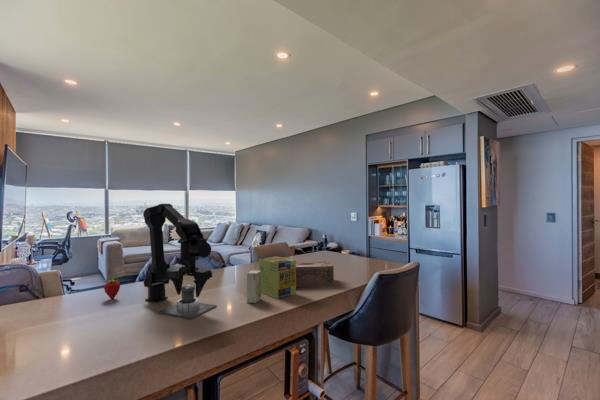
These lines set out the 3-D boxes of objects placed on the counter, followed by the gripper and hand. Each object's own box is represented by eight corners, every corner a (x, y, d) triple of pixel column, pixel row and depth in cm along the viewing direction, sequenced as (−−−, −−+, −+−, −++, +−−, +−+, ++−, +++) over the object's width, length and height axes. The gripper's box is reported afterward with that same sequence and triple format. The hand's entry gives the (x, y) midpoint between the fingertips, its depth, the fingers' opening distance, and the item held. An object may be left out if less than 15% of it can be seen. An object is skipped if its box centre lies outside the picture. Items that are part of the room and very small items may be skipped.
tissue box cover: (282, 287, 145) (282, 267, 145) (281, 280, 159) (281, 261, 160) (333, 286, 148) (333, 266, 148) (328, 279, 162) (328, 260, 162)
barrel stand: (157, 313, 110) (157, 303, 110) (185, 301, 123) (185, 293, 123) (191, 319, 104) (191, 308, 104) (216, 306, 117) (216, 297, 117)
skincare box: (256, 303, 121) (256, 273, 121) (246, 302, 121) (246, 273, 122) (261, 298, 127) (261, 270, 127) (251, 298, 128) (251, 269, 128)
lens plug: (177, 309, 112) (177, 288, 112) (187, 305, 117) (187, 285, 117) (188, 311, 110) (188, 289, 110) (197, 307, 115) (198, 286, 115)
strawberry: (103, 303, 122) (103, 278, 122) (104, 298, 128) (104, 275, 128) (120, 300, 125) (120, 277, 125) (120, 296, 131) (120, 273, 131)
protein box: (278, 299, 126) (278, 263, 127) (258, 291, 138) (258, 258, 138) (296, 294, 133) (296, 260, 134) (276, 287, 145) (276, 255, 145)
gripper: (153, 257, 110) (152, 299, 109) (192, 260, 103) (192, 305, 102) (176, 252, 120) (175, 291, 120) (213, 255, 113) (213, 296, 113)
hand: (188, 295), depth 113 cm, fingers open, 9 cm apart
